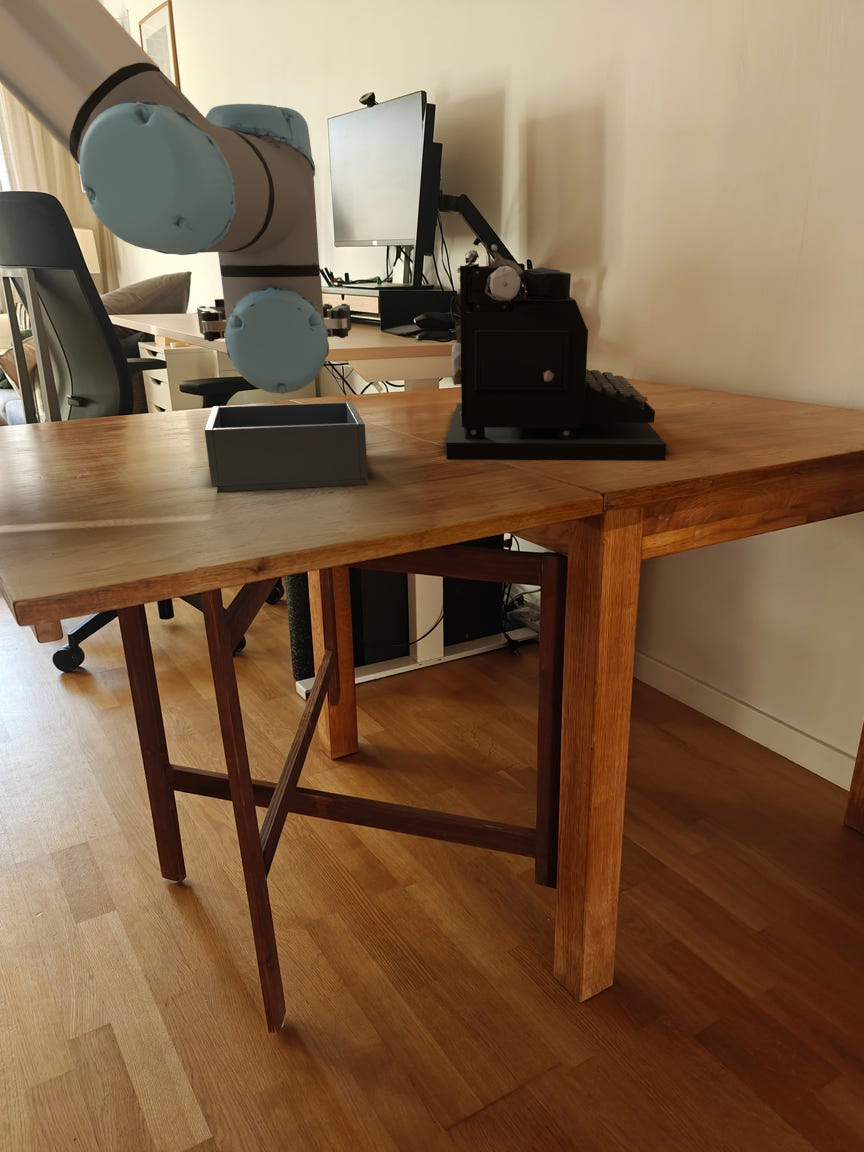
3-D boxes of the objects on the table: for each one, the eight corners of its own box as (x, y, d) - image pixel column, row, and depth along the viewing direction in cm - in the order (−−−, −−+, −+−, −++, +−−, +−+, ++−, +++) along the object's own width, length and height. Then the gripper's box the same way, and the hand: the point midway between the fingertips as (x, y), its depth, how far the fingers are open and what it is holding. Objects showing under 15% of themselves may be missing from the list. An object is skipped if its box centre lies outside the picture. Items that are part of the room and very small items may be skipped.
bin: (212, 492, 92) (204, 429, 89) (219, 461, 106) (212, 406, 103) (368, 484, 95) (364, 423, 93) (355, 455, 109) (352, 401, 106)
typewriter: (665, 460, 107) (685, 237, 96) (446, 458, 107) (443, 236, 97) (630, 417, 135) (643, 241, 125) (457, 416, 135) (456, 240, 125)
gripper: (159, 376, 76) (182, 351, 97) (395, 369, 81) (370, 346, 101) (146, 285, 73) (173, 279, 94) (392, 283, 78) (366, 277, 98)
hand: (275, 314), depth 97 cm, fingers closed on game die, 8 cm apart
